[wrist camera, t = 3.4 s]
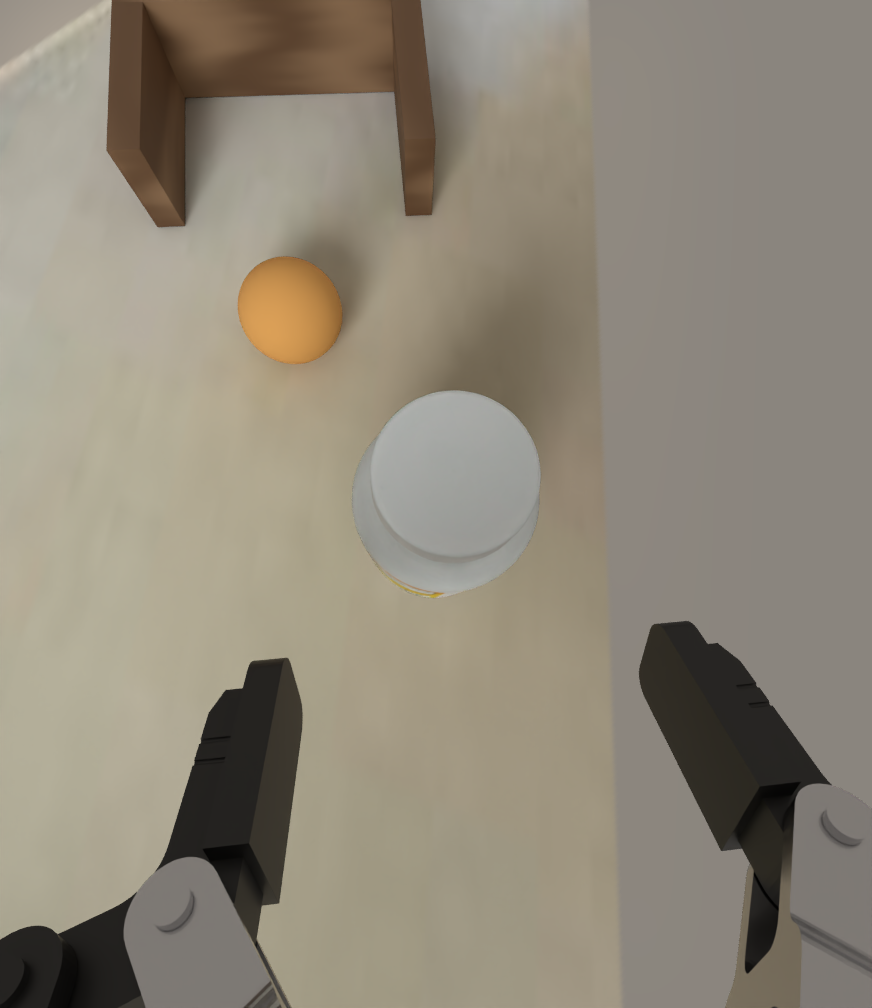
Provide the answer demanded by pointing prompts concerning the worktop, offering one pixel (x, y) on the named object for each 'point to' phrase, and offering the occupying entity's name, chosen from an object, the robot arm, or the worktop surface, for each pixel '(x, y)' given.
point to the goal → (258, 78)
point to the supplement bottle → (447, 493)
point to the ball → (290, 310)
